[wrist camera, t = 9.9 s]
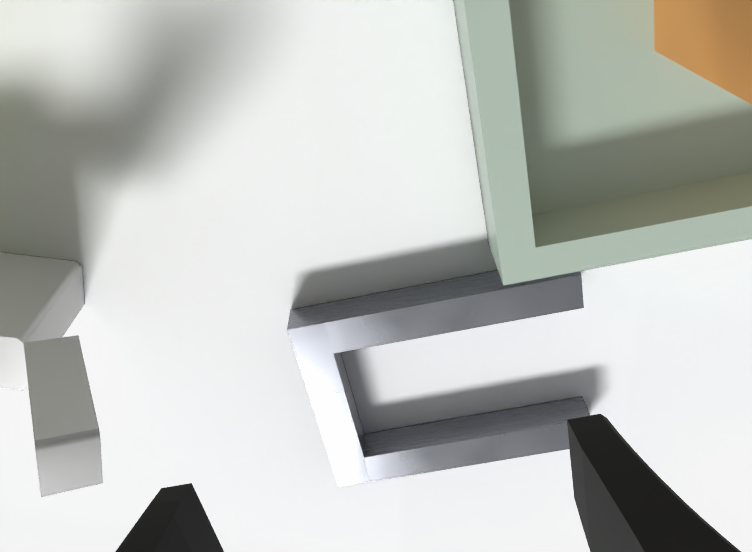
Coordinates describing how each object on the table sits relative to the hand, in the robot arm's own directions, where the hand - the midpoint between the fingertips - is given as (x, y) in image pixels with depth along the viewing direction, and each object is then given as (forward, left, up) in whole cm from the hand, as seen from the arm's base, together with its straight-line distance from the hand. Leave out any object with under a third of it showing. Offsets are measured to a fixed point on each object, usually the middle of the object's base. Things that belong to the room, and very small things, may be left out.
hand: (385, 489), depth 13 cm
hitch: (-2, +5, -10) cm, 11 cm away
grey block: (+10, -1, -10) cm, 14 cm away
